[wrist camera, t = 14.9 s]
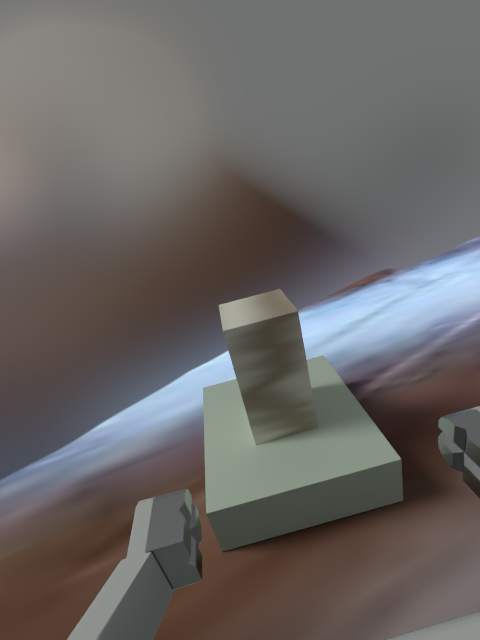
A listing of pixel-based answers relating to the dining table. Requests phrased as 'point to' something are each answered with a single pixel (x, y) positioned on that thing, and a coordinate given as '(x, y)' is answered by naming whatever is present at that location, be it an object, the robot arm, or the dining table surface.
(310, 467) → the base plinth
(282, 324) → the cream block
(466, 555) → the dining table surface
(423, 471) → the dining table surface
